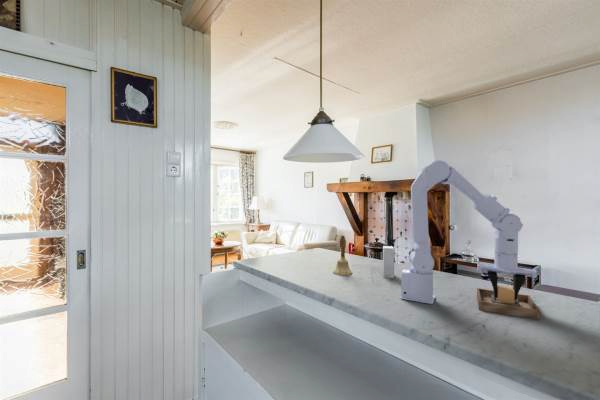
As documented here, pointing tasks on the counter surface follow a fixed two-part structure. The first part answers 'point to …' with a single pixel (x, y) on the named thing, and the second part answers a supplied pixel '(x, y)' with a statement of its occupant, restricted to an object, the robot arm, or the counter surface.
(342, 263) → the hand bell
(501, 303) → the box
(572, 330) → the counter surface
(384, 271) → the skincare box
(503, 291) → the plug
